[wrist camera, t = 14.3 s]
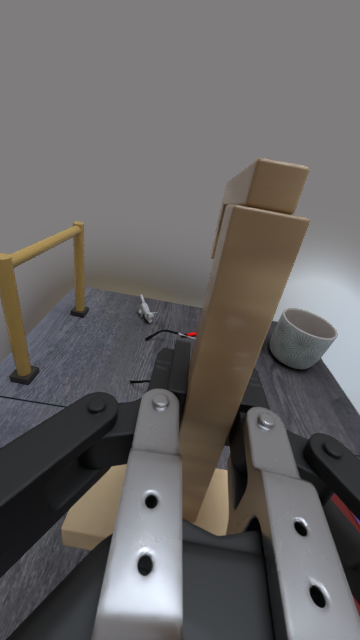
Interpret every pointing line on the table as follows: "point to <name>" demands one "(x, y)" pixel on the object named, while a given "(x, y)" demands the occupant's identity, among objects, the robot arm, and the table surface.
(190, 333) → the pen
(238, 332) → the wooden post on base
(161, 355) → the robot arm
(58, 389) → the table surface
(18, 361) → the rack
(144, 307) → the dog figurine
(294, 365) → the planter
